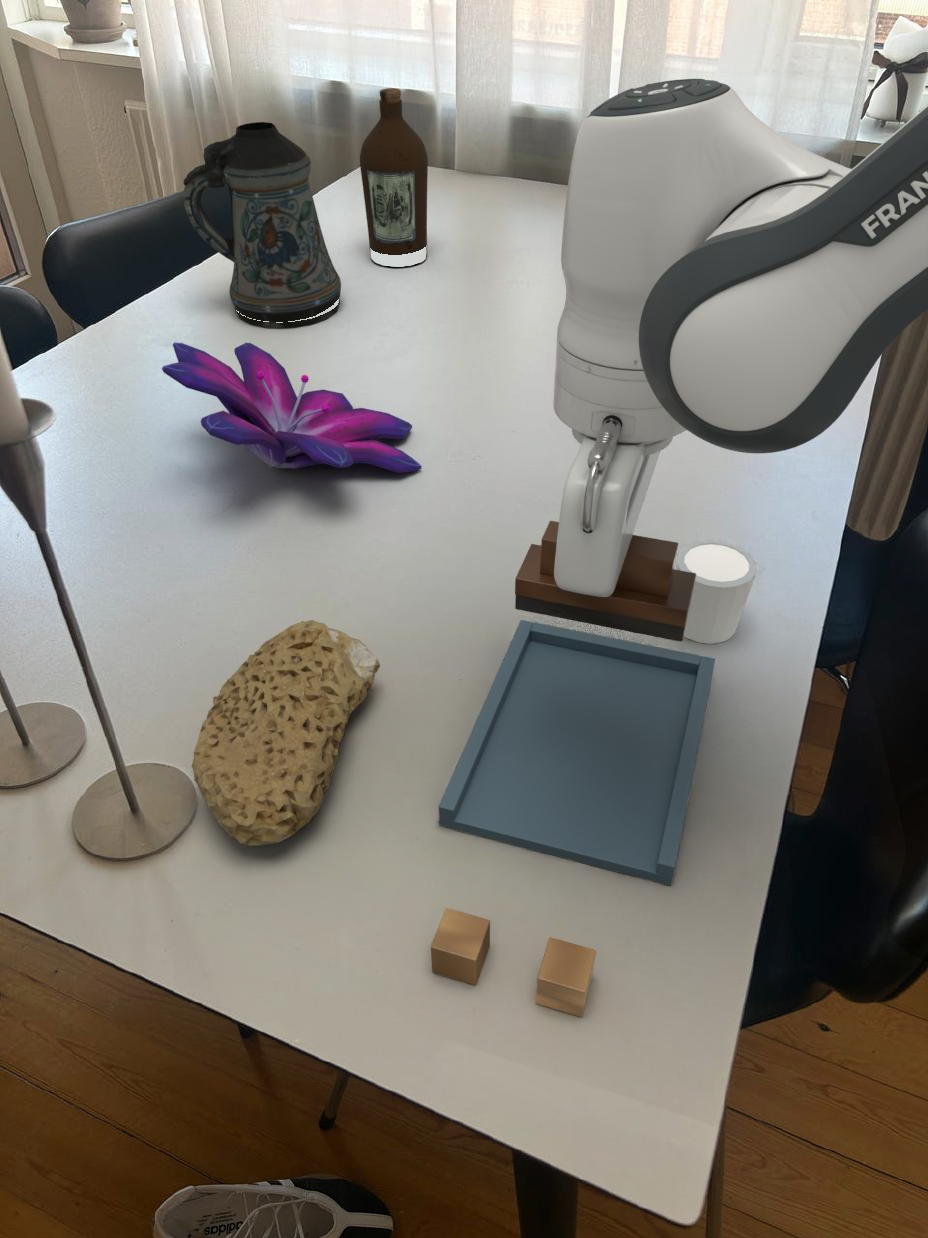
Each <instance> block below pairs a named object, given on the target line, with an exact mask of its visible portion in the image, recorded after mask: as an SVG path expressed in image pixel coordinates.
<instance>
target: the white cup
mask: <svg viewBox="0 0 928 1238" xmlns="http://www.w3.org/2000/svg"><path fill="white" fill-rule="evenodd" d="M757 566H758V565H757V562H756V561H755V559H754V557H753V556H752V554H750V553H749V552H747V551H746V550H745V549H743V548H742V547H741V546H739V545H735V544H732V543H730V542H727V541H720V540H713V539H707V540H698V541H697V540H696V541H694V542H692V543H691V542H690V543H689V544H687V545H684V546H683V547H682V548H681V550H679V551H678V552H677V555H676V563H675V567H676V568H675V570H681V571H686V572H692V573H696V578H695V584H694V589H693V594H692V599H691V605H690V610H689V614H688V618H687V623H686V627H685V632H684V636H683V637H684V638H685V639H688V640H691V641H693V642H695V643H700V644H706V645H712V644H713V645H714V644H721V643H723V642H725V641H729V639H731V638H732V637H733V636H734V634H735V633H736V632H737V628H738V626H739V624H740V620H741V617H742V615H743V612H744V609H745V607H746V603H747V601H748V598H749V595H750V592H751V589H752V586H753V583H754V581H755V578H756V575H757Z"/></svg>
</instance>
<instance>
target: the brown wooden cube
mask: <svg viewBox="0 0 928 1238" xmlns="http://www.w3.org/2000/svg"><path fill="white" fill-rule="evenodd" d="M444 909H445V910H444V912H443V914H442V917H441V918H440V919H441V920H440V922H439V925H438V926H437V927H438V928H437V929H436V932H435V934H434V937H433V939H432V942H431V944H430V955H431V956H430V958H431V959H430V960H431V972H432V973H433V974H436V975H440V976H443V977H447V978H449V979H452V980H456V981H458V982H459V981H460V982H463V983H466V984H469V985H473V986H477V984H478V982H479V979H480V976H481V973H482V971H483V968H484V964H485V961H486V958H487V955H488V953H489V949H490V947H491V920H490V919H487V918H484V917H480V916H476V915H473V914H470V913H466V912H463V911H459V910H456V909H453V908H449V907H446V908H444Z"/></svg>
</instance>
